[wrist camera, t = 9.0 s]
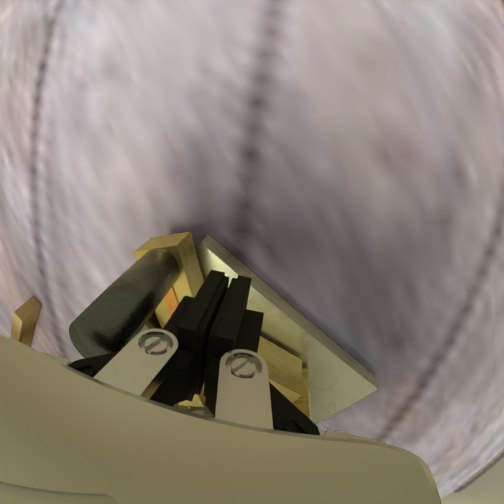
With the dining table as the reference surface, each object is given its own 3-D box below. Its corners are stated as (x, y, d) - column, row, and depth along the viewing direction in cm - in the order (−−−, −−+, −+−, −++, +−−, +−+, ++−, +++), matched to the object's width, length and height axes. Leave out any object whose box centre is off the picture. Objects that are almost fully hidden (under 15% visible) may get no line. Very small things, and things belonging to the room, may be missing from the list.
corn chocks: (89, 437, 31) (82, 451, 29) (17, 376, 29) (7, 388, 26) (146, 395, 24) (135, 418, 21) (33, 296, 21) (14, 312, 18)
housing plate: (239, 445, 25) (226, 509, 18) (98, 352, 22) (53, 413, 15) (374, 375, 19) (393, 462, 12) (197, 224, 16) (130, 294, 9)
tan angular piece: (313, 433, 20) (312, 516, 13) (176, 430, 22) (150, 500, 15) (288, 216, 14) (285, 309, 6) (86, 250, 16) (-3, 316, 9)
